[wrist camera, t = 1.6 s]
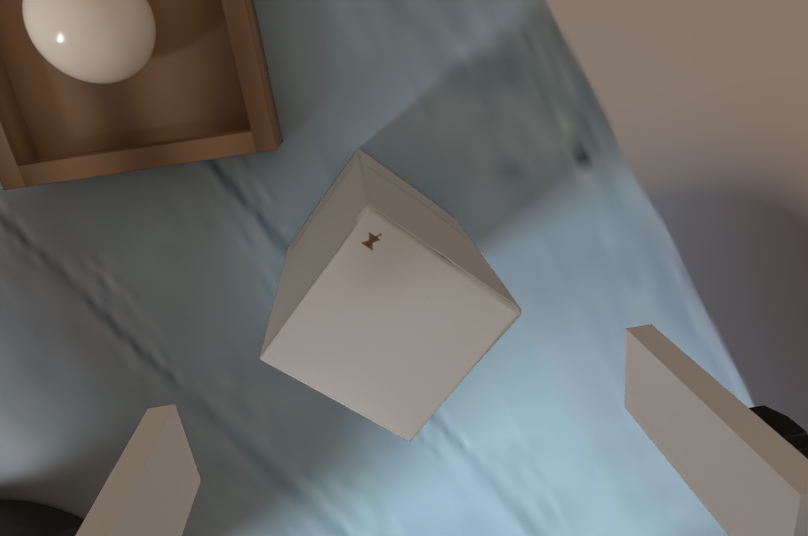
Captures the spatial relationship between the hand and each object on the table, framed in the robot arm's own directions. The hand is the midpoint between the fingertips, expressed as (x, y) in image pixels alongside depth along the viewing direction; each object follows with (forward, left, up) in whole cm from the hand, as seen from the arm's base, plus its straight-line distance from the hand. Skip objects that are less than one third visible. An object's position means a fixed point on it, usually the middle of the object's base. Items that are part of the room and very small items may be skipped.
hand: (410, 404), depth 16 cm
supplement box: (0, 0, -17) cm, 17 cm away
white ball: (-11, +12, -16) cm, 23 cm away
